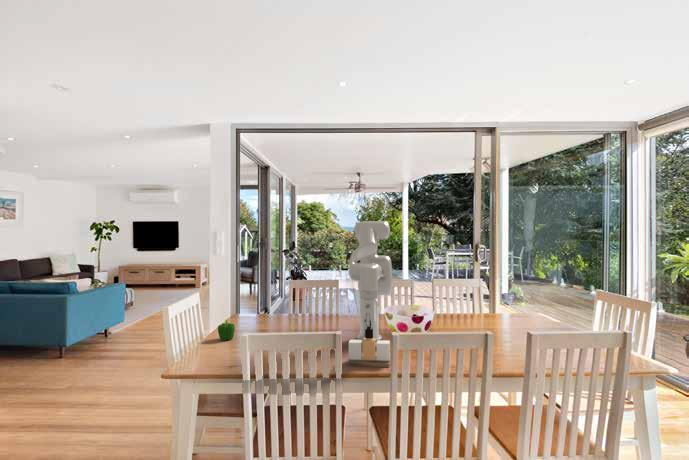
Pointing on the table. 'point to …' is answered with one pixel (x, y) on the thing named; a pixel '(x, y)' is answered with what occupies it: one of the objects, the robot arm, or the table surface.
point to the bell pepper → (226, 331)
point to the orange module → (369, 349)
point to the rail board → (380, 360)
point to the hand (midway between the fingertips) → (369, 338)
